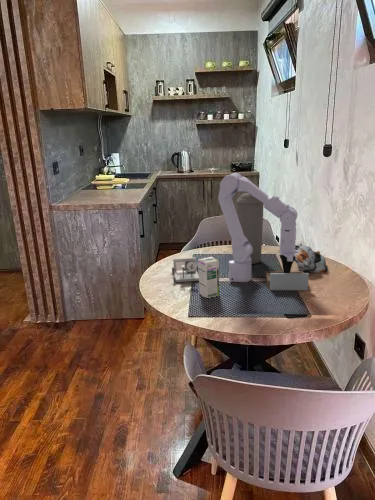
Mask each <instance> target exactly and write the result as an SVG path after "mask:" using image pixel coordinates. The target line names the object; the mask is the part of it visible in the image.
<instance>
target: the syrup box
mask: <svg viewBox="0 0 375 500" xmlns="http://www.w3.org/2000/svg"><path fill="white" fill-rule="evenodd" d="M197 262H198V263H197V264H198V265H197V266H198V275H199V280H198V286H199V288H198V289H199V295H200V294H201V295H202V296H201V295H200V296H201V297H203V296H204V297H206V298H209V299H212V298H211V297H213V298H216V296H217V297H220V295H221V294H220V264H219V262H220V261H219V259H217V258H215V257H214V256H209V257H203V258H198V261H197ZM204 297H203V298H204ZM206 298H205V299H206Z"/></svg>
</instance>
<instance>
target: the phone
mask: <svg viewBox="0 0 375 500" xmlns="http://www.w3.org/2000/svg"><path fill="white" fill-rule="evenodd" d="M283 315H284V317H285V318H286V319H297V318H299V319H300V318H307V317H308V314H302V313H299V314H298V313H283Z"/></svg>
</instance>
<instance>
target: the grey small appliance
mask: <svg viewBox="0 0 375 500" xmlns="http://www.w3.org/2000/svg"><path fill="white" fill-rule="evenodd" d="M172 261H173V262H172V263H173V264H172V265H173V267H172V268H171V273H174V274H173V275H174V277H173V279H172V280H173V284H174V283H176V284H177V283H181V282H183V283H184V282H193V281H199V268H198V265H197V257H195V256H194V257H182V258H172Z"/></svg>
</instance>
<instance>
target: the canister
mask: <svg viewBox="0 0 375 500" xmlns="http://www.w3.org/2000/svg"><path fill="white" fill-rule="evenodd" d="M235 204H236V205H235V206H236V207H235V209H236V212H237V215H238V218H239V222H240V225H241V228H242V231H243V234H244V236H245V237H246V238H247V240H248V242H249V243H250V244H251V246H252V248H253V252H252V254H251V255H250V257H251V259H252V264H251V265H253V264H258V263H260V262H261V261H262V245H263V227H264V226H263V225H264V204H263V202H261V201H260V200H258V199H257V198H255V197H254V196H252V195H251V194H249V193H248V192H246V193H242V194H241V195H240V196H239V197H238V198H237V200H236V202H235Z"/></svg>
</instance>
